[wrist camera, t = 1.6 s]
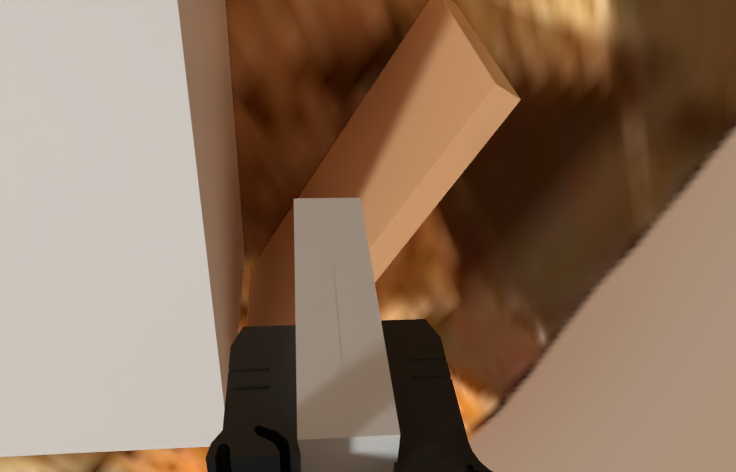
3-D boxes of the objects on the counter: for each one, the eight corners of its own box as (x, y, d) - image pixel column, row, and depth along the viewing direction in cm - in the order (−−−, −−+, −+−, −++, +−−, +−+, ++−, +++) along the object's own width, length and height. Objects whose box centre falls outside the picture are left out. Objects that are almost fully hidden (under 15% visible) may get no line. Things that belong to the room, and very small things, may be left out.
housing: (-243, -135, 24) (-610, -58, 14) (216, -117, 25) (172, -38, 16) (-62, 292, 35) (-194, 496, 25) (246, 284, 37) (231, 473, 27)
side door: (436, -11, 28) (495, 83, 20) (476, 16, 29) (549, 117, 21) (250, 268, 36) (239, 418, 28) (286, 283, 37) (286, 433, 29)
